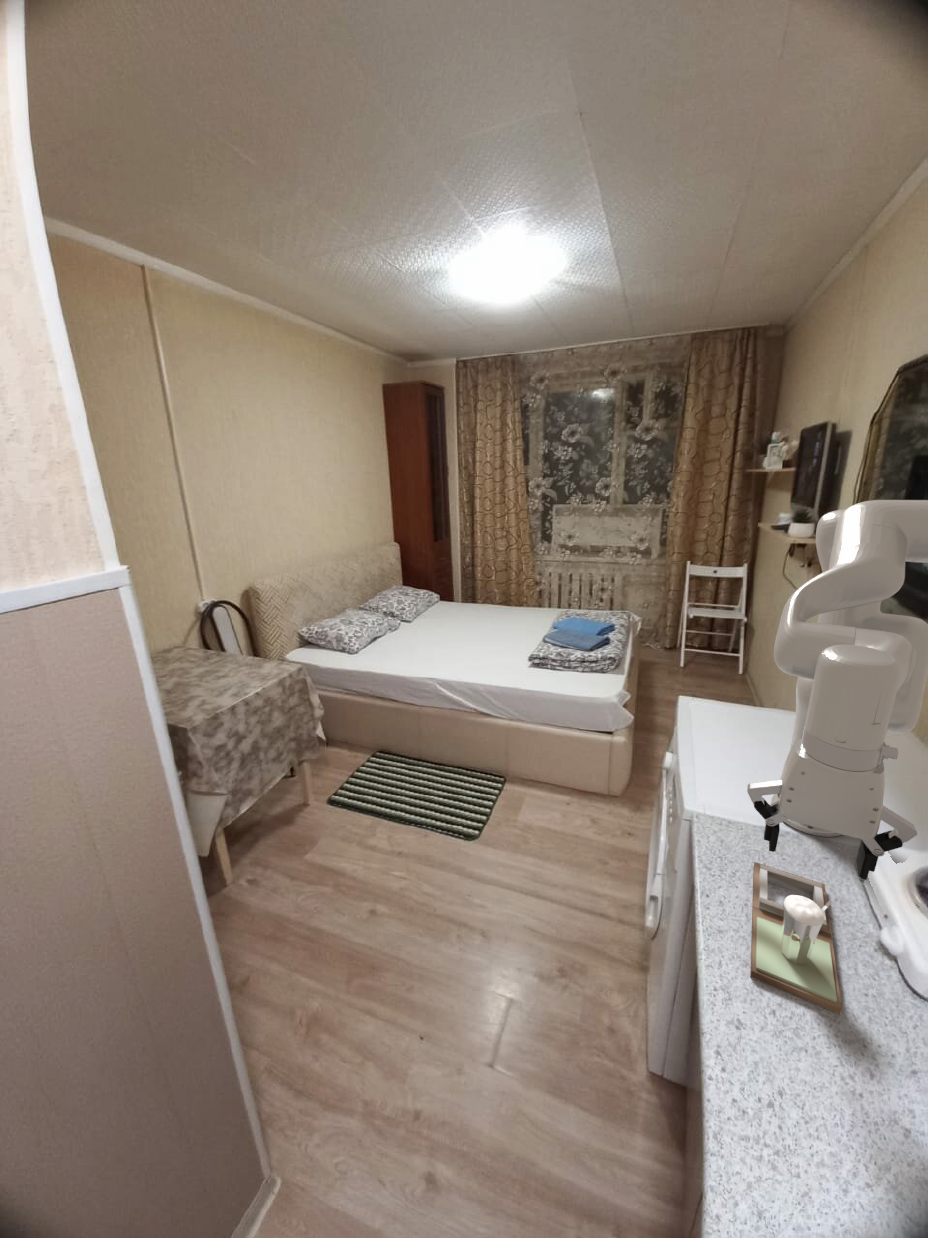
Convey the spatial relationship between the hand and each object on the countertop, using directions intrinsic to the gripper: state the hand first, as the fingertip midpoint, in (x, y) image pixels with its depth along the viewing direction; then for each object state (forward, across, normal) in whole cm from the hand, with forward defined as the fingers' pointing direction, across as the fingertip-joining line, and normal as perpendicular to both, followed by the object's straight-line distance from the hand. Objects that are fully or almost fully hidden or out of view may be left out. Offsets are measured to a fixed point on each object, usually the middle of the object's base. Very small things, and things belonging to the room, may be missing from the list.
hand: (814, 857), depth 64 cm
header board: (+18, 0, -5) cm, 19 cm away
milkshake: (+17, 0, +1) cm, 17 cm away
